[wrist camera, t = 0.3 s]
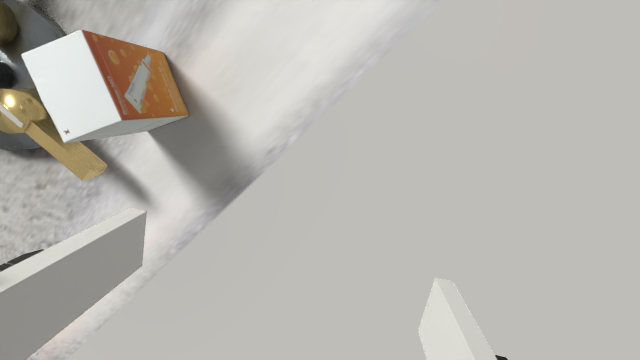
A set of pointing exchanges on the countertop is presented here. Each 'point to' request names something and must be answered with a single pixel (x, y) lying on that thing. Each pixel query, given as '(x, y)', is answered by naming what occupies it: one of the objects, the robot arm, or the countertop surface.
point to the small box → (103, 86)
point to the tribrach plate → (9, 68)
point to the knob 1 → (7, 24)
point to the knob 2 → (45, 131)
